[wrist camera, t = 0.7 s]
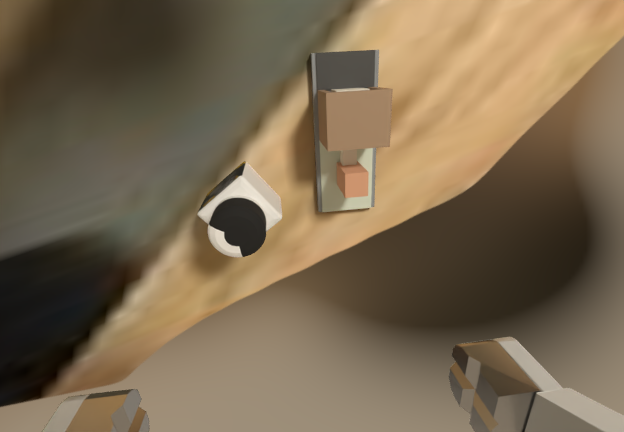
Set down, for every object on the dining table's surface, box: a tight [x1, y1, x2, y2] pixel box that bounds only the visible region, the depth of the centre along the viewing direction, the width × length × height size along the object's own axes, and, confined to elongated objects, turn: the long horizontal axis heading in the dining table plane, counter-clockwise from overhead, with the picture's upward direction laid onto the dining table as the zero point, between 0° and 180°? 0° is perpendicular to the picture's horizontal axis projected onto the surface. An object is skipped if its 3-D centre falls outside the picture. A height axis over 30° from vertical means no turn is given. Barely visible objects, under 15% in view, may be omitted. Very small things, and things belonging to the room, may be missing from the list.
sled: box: [331, 88, 370, 198], centre depth 39 cm, size 12×4×5 cm, turn 3°
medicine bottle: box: [198, 162, 282, 257], centre depth 39 cm, size 7×7×12 cm
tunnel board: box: [311, 50, 393, 212], centre depth 39 cm, size 20×8×8 cm, turn 3°
